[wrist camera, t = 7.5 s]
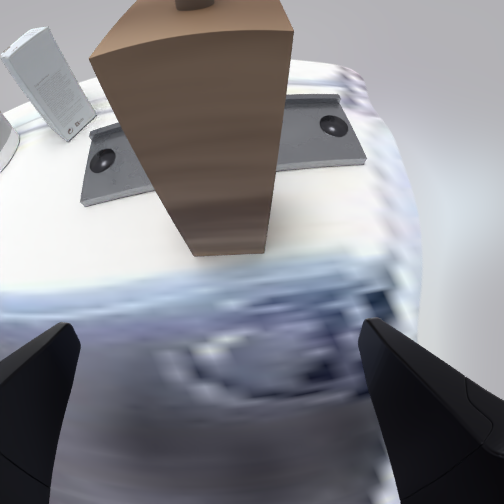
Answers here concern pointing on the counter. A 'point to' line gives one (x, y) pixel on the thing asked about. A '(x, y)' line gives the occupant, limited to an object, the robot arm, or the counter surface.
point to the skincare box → (48, 82)
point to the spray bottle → (7, 141)
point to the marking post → (203, 110)
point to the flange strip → (289, 157)
